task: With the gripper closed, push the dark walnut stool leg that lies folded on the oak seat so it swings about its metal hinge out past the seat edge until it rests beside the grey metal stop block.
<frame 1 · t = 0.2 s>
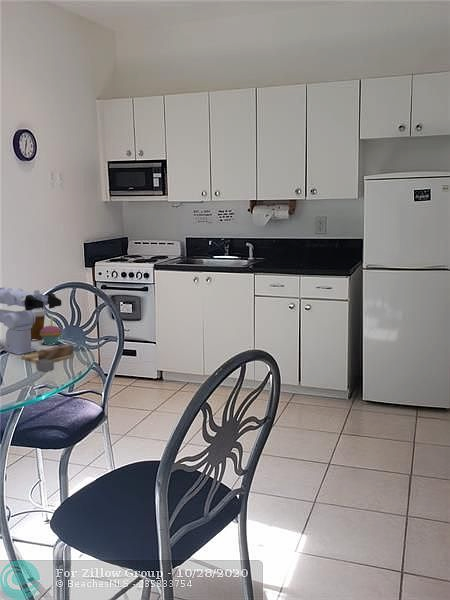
hand: (51, 303, 219), 21 cm above the table, tool horizontal, fingers open, 7 cm apart
hinged leg: (55, 351, 223), point 3 cm above the table, hinge at 90.0°
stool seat: (47, 358, 226), on the table
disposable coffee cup: (34, 339, 254), on the table
stop block: (45, 369, 212), on the table
cupcake: (51, 343, 247), on the table
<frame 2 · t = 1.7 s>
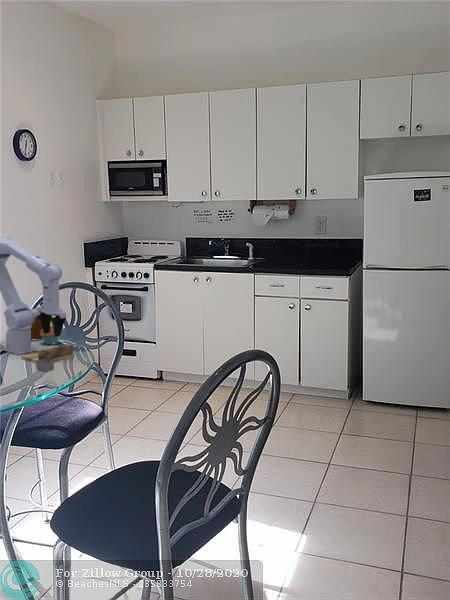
hand: (52, 334, 227), 8 cm above the table, tool pointing down, fingers open, 6 cm apart
nothing on the table moved.
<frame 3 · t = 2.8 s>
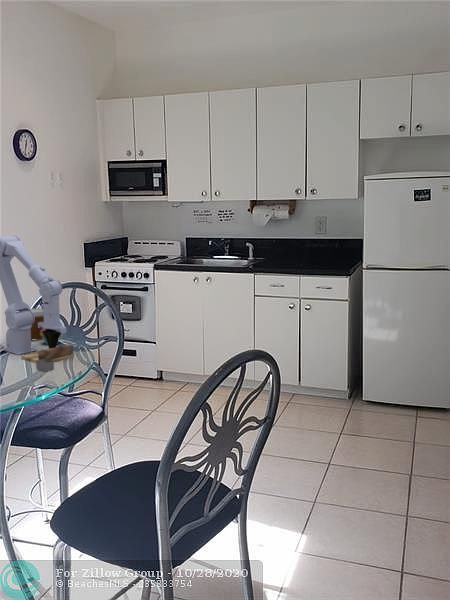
hand: (52, 349, 227), 3 cm above the table, tool pointing down, fingers closed
nothing on the table moved.
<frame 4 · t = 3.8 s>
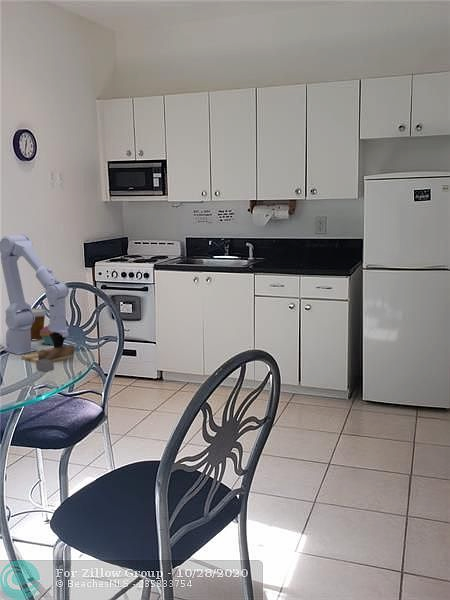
hand: (58, 352, 226), 2 cm above the table, tool pointing down, fingers closed, pressing on hinged leg
hinged leg: (55, 351, 222), point 3 cm above the table, hinge at 86.8°, touching gripper
everything else where it was.
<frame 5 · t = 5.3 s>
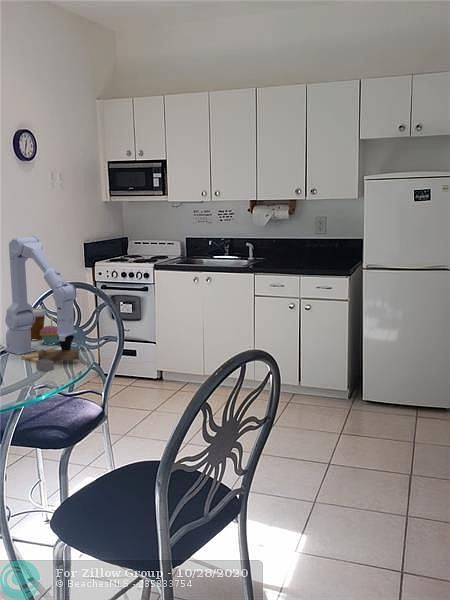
hand: (66, 355, 221), 2 cm above the table, tool pointing down, fingers closed, pressing on hinged leg
hinged leg: (58, 354, 219), point 3 cm above the table, hinge at 45.9°, touching gripper
everything else where it was.
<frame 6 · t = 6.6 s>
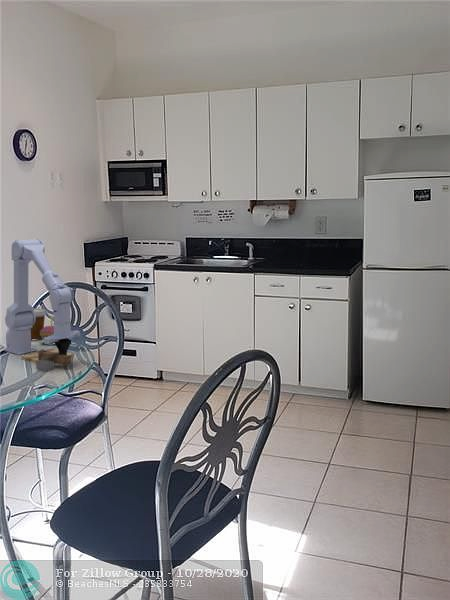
hand: (62, 359, 216), 2 cm above the table, tool pointing down, fingers closed, pressing on hinged leg
hinged leg: (53, 356, 216), point 3 cm above the table, hinge at 8.1°, touching gripper
everything else where it was.
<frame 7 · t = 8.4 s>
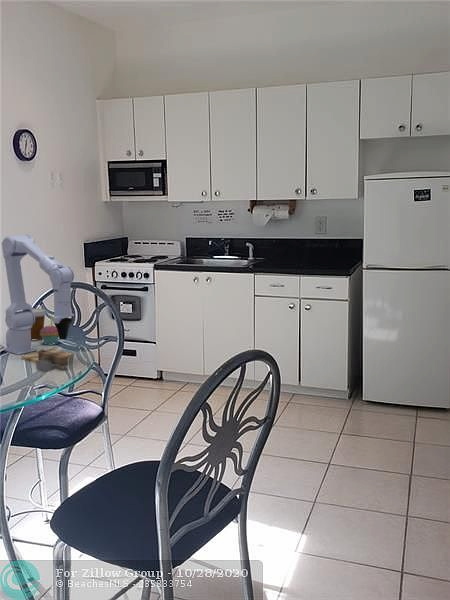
hand: (63, 338, 220), 9 cm above the table, tool pointing down, fingers closed
hinged leg: (52, 357, 215), point 3 cm above the table, hinge at 1.0°
everything else where it was.
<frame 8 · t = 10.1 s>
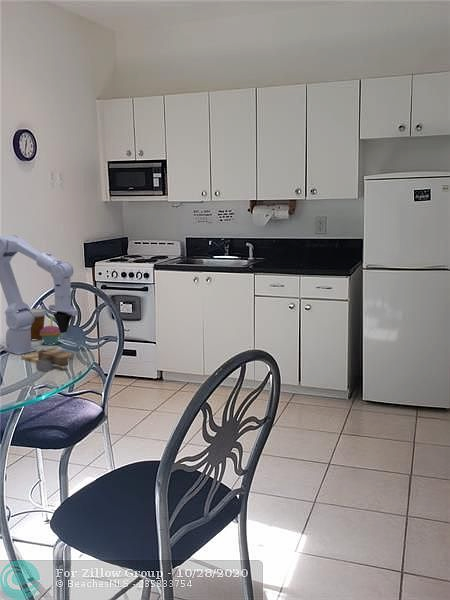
hand: (63, 332, 226), 9 cm above the table, tool pointing down, fingers closed
nothing on the table moved.
at the end: hinged leg at +1° (first picture: +90°) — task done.
